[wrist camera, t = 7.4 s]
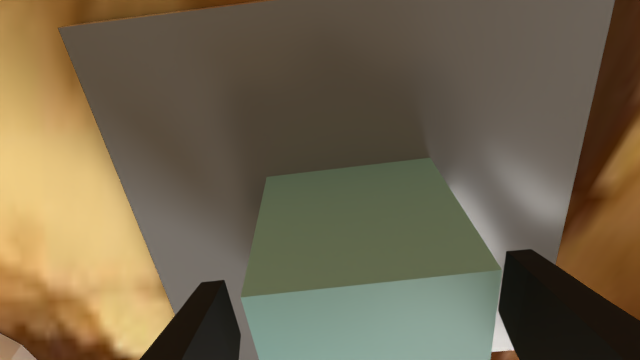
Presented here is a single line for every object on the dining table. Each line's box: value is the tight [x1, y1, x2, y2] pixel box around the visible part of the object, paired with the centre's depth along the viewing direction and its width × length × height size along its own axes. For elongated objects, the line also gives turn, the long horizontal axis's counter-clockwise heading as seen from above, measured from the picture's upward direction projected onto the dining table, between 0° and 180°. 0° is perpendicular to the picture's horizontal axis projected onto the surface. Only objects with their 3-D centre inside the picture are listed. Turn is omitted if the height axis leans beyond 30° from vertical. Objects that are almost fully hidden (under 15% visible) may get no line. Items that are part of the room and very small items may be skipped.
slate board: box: [58, 0, 615, 360], centre depth 13 cm, size 14×14×1 cm
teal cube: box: [240, 158, 502, 360], centre depth 11 cm, size 5×5×5 cm
